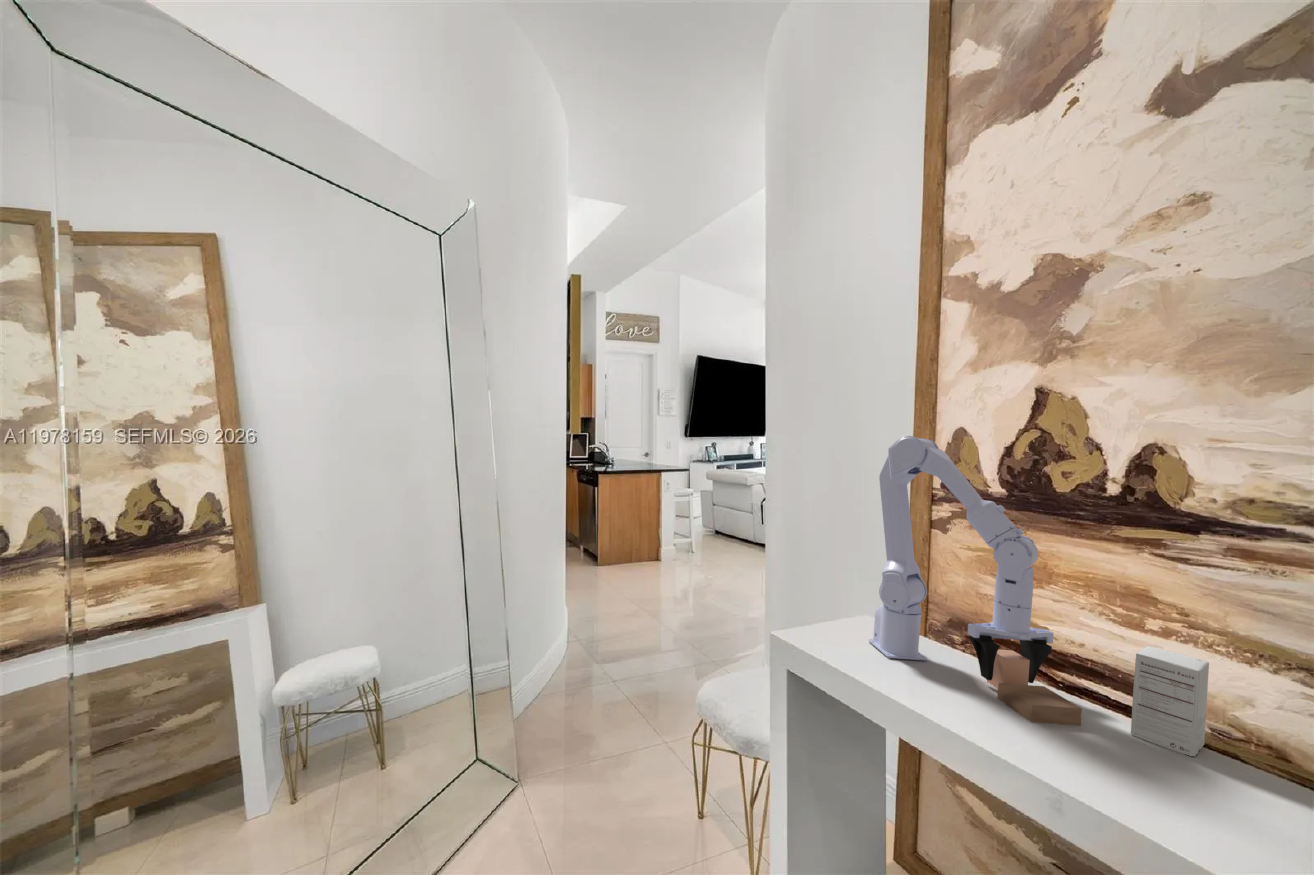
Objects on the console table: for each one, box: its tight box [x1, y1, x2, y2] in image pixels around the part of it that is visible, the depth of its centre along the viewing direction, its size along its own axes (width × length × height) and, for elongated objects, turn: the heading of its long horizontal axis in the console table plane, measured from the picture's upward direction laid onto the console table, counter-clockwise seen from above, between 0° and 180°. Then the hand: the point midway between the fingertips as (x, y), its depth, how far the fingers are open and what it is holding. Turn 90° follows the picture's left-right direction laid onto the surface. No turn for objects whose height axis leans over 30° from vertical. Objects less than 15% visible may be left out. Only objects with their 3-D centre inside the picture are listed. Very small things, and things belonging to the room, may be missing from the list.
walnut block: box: [996, 683, 1083, 726], centre depth 90 cm, size 8×8×3 cm
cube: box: [985, 649, 1030, 690], centre depth 99 cm, size 4×4×6 cm
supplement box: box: [1130, 646, 1210, 757], centre depth 84 cm, size 7×7×13 cm
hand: (1006, 679), depth 99 cm, fingers open, 7 cm apart
